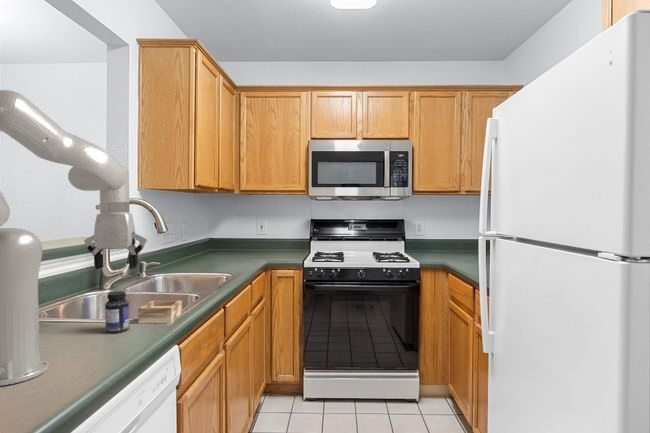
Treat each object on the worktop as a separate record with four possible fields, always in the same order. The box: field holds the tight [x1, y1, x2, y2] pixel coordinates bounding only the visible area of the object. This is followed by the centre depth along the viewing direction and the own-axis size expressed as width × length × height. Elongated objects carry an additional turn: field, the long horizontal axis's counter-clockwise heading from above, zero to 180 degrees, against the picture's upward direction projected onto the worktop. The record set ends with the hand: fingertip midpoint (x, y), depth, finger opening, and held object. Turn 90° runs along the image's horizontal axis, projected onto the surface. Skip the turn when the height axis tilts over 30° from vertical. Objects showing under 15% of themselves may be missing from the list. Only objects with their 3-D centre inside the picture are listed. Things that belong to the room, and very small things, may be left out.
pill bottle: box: [104, 290, 130, 334], centre depth 119 cm, size 6×6×11 cm
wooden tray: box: [137, 300, 183, 324], centre depth 131 cm, size 10×10×4 cm
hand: (116, 268), depth 118 cm, fingers open, 9 cm apart
